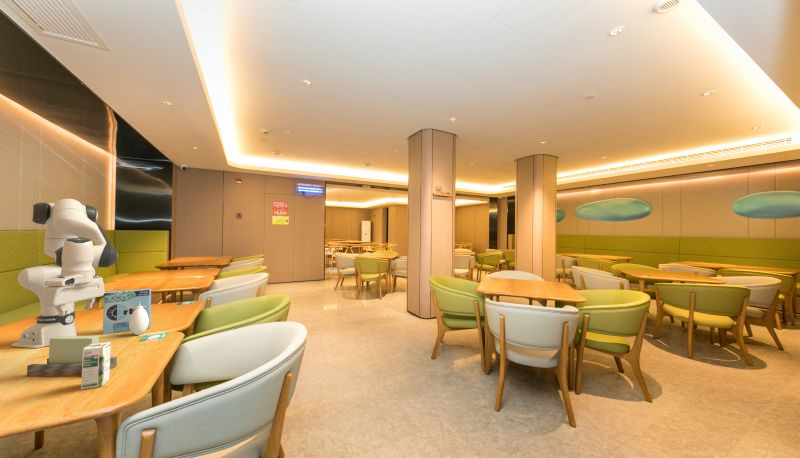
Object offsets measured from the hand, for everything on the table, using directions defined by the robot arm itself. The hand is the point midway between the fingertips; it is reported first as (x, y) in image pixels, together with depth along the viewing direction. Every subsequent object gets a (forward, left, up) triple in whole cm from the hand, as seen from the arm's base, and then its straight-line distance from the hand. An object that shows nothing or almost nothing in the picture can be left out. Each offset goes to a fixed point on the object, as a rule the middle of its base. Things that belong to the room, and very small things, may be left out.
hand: (75, 312), depth 117 cm
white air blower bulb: (-10, +43, -24) cm, 50 cm away
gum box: (-22, +50, -24) cm, 60 cm away
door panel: (0, 0, -22) cm, 22 cm away
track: (0, 0, -24) cm, 24 cm away
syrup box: (+19, -11, -24) cm, 32 cm away
